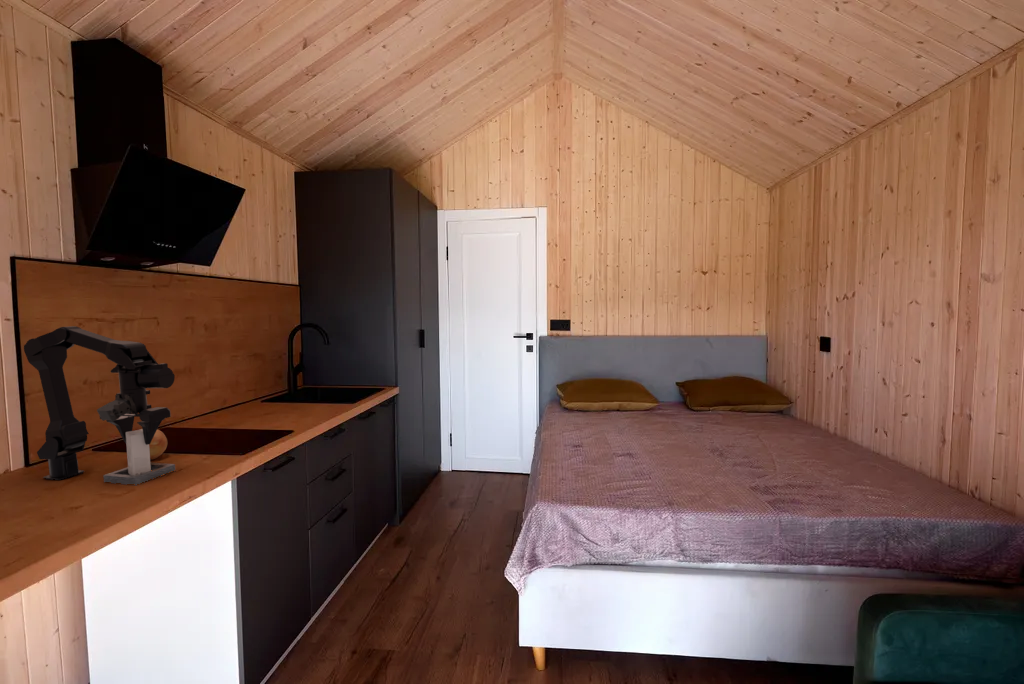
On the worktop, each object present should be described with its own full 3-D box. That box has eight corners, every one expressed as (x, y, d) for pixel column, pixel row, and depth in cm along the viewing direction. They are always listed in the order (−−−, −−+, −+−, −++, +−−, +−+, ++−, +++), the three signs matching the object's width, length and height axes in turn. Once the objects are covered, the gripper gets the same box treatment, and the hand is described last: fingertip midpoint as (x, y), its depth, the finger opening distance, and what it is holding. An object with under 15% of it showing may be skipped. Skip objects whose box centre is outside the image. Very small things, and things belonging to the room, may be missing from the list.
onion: (121, 464, 149) (118, 432, 148) (147, 454, 159) (144, 424, 158) (151, 464, 148) (148, 432, 147) (175, 454, 158) (173, 423, 157)
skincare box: (151, 474, 137) (148, 432, 136) (132, 478, 134) (129, 435, 133) (146, 469, 141) (143, 428, 140) (127, 473, 138) (124, 431, 137)
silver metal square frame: (103, 482, 134) (103, 475, 133) (144, 468, 145) (144, 461, 144) (136, 485, 131) (135, 478, 130) (175, 470, 142) (174, 464, 141)
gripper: (75, 392, 130) (80, 450, 131) (129, 394, 125) (134, 454, 127) (118, 385, 141) (123, 438, 142) (170, 387, 136) (174, 442, 137)
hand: (137, 443), depth 137 cm, fingers closed on skincare box, 7 cm apart
